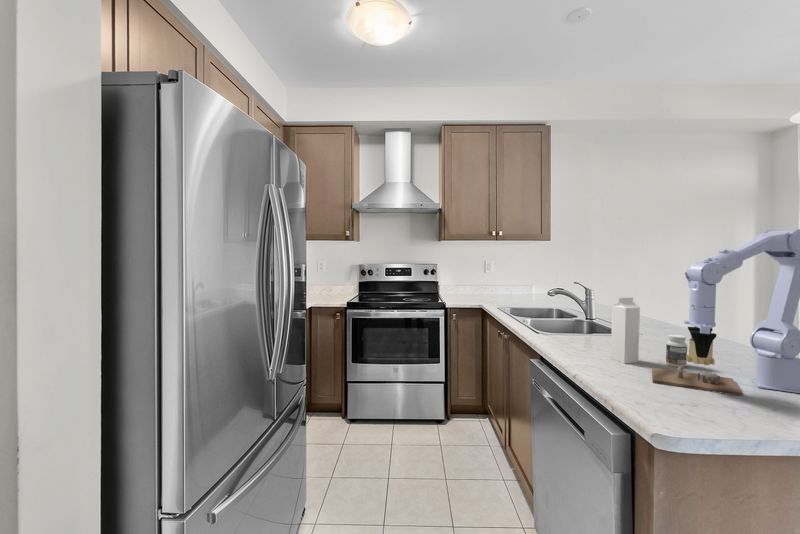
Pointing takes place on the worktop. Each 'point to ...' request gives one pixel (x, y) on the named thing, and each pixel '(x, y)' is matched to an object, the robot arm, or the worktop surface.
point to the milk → (625, 331)
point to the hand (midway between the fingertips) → (700, 355)
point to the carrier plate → (695, 380)
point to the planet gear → (697, 360)
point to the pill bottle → (676, 351)
